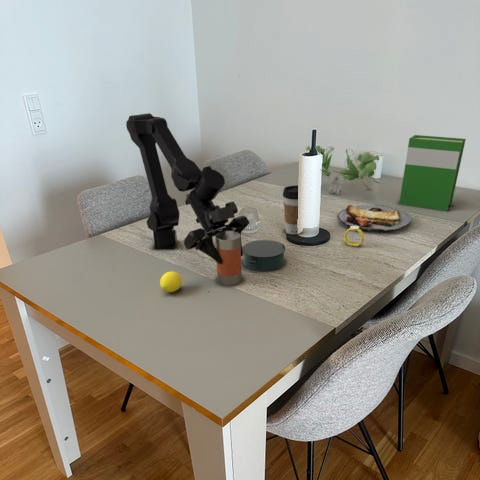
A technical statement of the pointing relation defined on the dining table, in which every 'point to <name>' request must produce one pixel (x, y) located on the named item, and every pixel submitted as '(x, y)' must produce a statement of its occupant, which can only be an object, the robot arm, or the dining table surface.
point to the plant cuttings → (349, 166)
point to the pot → (263, 255)
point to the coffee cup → (291, 209)
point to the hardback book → (431, 171)
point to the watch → (354, 228)
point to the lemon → (171, 281)
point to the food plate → (374, 217)
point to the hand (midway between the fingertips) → (231, 259)
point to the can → (229, 257)
